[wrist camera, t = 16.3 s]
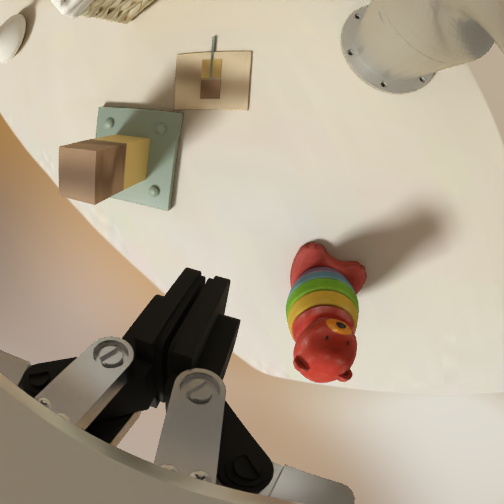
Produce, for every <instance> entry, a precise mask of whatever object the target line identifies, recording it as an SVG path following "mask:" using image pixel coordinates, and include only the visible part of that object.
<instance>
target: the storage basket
mask: <svg viewBox="0 0 504 504" xmlns="http://www.w3.org/2000/svg"><path fill="white" fill-rule="evenodd" d="M153 1H154V0H51V2H52V3H53V4H54V5H55V6H56V7H57V8H58V10H59V11H60V12H61V13H62V14H63V15H66V16H68V17H71V18H77V17H78V16H84V17H94V18H99V19H101V20H103V19H105V20H107V21H111V22H119V23H123V24H127V23H128V22H129V21H130V20H132V19H133V18H134V17H135V16H137V15H138V13H140V12H141V11H142V10H143V9H144V8H145V7H146V6H148V5H149V4H150V3H152V2H153Z"/></svg>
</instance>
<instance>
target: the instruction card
mask: <svg viewBox="0 0 504 504" xmlns="http://www.w3.org/2000/svg"><path fill="white" fill-rule="evenodd" d="M214 43H215V36H214V37H212V50H211V52H204V53H190V54H179V55H177V62H176V78H175V97H174V110H183V109H229V110H248V98H249V82H250V67H251V53H252V52H251V51H230V52H214Z"/></svg>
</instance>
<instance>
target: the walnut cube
mask: <svg viewBox="0 0 504 504" xmlns="http://www.w3.org/2000/svg"><path fill="white" fill-rule="evenodd" d="M126 147H127V144H126V143H119V142H110V141H102V140H92V139H90V140H85V141H81V142H77V143H72V144H68V145H64V146H60V147H59V196H62V197H66V198H70V199H74V200H78V201H82V202H86V203H90V204H94V205H95V204H97V203H99V202H101V201H103V200H105V199H107V198H109V197H111V196H113V195H115V194H117V193H119V192H121V191H123V189H124V172H125V159H126Z"/></svg>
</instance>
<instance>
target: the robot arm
mask: <svg viewBox="0 0 504 504" xmlns="http://www.w3.org/2000/svg"><path fill="white" fill-rule="evenodd" d="M355 17H358V18H359V19H356V18H355ZM494 41H495V43H496V44H497V45H498V46H499V48H500V49H501V50H502V51H503V53H504V0H372V1H371V3H370V5H367V6H364V7H361V8H359V9H357V10H356V11H354V12H353V13H352V14H351V15H350V16H349V17H348V19H347V20H346V22H345V23H344V26H343V28H342V33H341V46H342V51H343V54H344V56H345V59H346V61H347V63H348V64H349V66H350V67H351V69H352V70H353V71H354V72H355V73H356V74H357V76H358V77H360V78H361V79H362V80H363V81H364V82H366V83H367V84H369V85H370V86H372V87H374V88H376V89H378V90H381V91H383V92H388V93H392V94H404V93H410V92H414V91H416V90H418V89H420V88H422V87H424V86H425V85H426V84H427V83H428V82H429V80H430V79H431V78H432V76H433V74H434V72H436V71H440V70H443V69H446V68H450V67H454V66H457V65H461V64H464V63H468V62H471V61H474V60H476V59H478V58H481V57H482V56H483V55H485V54H486V53H487V52H488V51H489V50H490V48H491V47H492V45H493V43H494ZM348 52H351V53H352V55H349V54H348ZM420 78H421V80H422V81H420ZM381 83H383V84H384V87H382V86H381ZM229 287H230V280H229V279H226V278H222V277H219V276H215V277H214V279H211V278H209V279H208V280H207V282H206V284H205V277H204V276H201V271H197V270H194V269H191V268H185V269H184V271H183V272H182V273H181V275H180V276H179V277H178V279H177V280H176V281H175V283H174V284H173V285H172V287H171V288H170V289H169V291H168V292H167V293H166V295H165V296H161V295H155V296H154V298H153V299H152V300H151V301H150V303H149V304H148V305H147V307H146V308H145V309H144V310H143V312H142V313H141V314H140V316H139V317H138V318H137V319H136V321H135V322H134V323H133V325H132V326H131V327H130V328H129V330H128V331H127V332H126V334H125V335H124V336H123V338H122V339H121V338H119V337H112V336H111V337H104V338H101V339H98V340H97V341H95V342H94V343H93V344H91V345H90V346H89V347H88V348H87V349H86V350H85V351H84V352H83V353H82V354H80V355H79V357H74V358H69V359H62V360H57V361H51V362H45V363H39V364H35V365H31V364H30V362H28V361H26V360H23V359H21V358H18V357H16V356H13V355H11V354H9V353H6V352H4V351H2V350H0V504H354V500H355V498H354V495H353V492H352V491H351V489H350V488H349V487H348V486H346V485H344V484H342V483H339V482H335V481H332V480H329V479H325V478H322V477H319V476H316V475H313V474H310V473H307V472H304V471H301V470H298V469H296V468H293V467H290V466H288V465H285V466H281V465H278V464H276V463H274V462H271V460H270V458H269V457H268V456H267V455H266V453H265V452H264V451H263V450H262V448H261V447H260V446H259V445H258V443H257V442H256V441H255V440H254V438H253V437H252V436H251V434H250V433H249V432H248V430H247V429H246V428H245V426H244V425H243V424H242V422H241V421H240V420H239V418H238V417H237V416H236V414H235V413H234V412H233V410H232V409H231V408H230V406H229V405H228V404H227V402H226V401H225V396H226V388H225V384H224V382H223V378H224V375H225V372H226V369H227V366H228V363H229V360H230V357H231V354H232V351H233V348H234V344H235V341H236V337H237V333H238V329H239V325H240V319H236V318H232V317H229V316H225V315H224V313H225V307H226V302H227V297H228V292H229ZM160 401H161V402H165V403H166V416H165V420H164V424H163V428H162V432H161V436H160V440H159V445H158V448H157V453H156V456H155V461H154V464H153V463H151V462H148V461H146V460H143V459H141V458H139V457H136V456H134V455H132V454H130V453H127V452H125V451H123V450H121V449H119V448H117V447H116V446H117V445H118V444H119V442H120V441H121V440H122V438H123V437H124V436H125V434H126V433H127V432H128V431H129V429H130V428H131V427H132V425H133V424H134V423H135V421H136V420H137V419H138V418H139V416H140V414H141V411H143V410H147V409H149V407H150V406H152V407H155V408H157V406H158V404H159V402H160Z"/></svg>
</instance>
